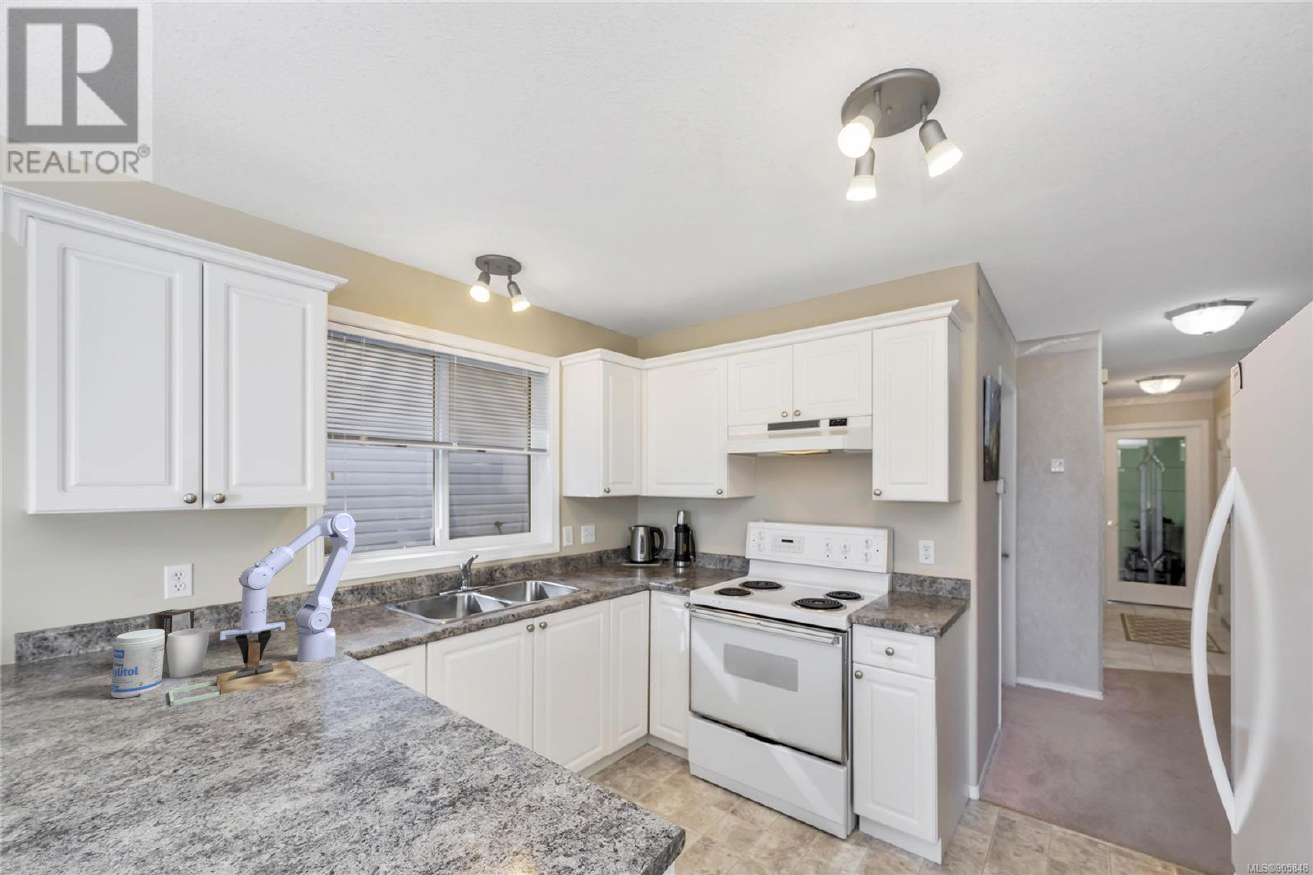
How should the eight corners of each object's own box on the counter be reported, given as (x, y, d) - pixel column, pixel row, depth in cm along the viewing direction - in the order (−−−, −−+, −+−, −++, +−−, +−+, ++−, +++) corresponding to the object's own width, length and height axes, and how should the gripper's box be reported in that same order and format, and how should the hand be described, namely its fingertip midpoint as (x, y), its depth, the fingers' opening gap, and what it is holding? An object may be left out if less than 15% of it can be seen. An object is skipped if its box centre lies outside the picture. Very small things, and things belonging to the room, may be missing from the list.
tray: (213, 687, 146) (214, 680, 146) (218, 699, 138) (219, 692, 138) (168, 697, 139) (168, 689, 140) (170, 710, 131) (170, 702, 132)
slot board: (288, 672, 156) (289, 660, 157) (296, 682, 149) (296, 668, 149) (216, 687, 145) (216, 674, 146) (220, 698, 138) (221, 684, 138)
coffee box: (193, 666, 163) (196, 610, 164) (169, 673, 157) (172, 615, 158) (169, 664, 165) (172, 608, 166) (145, 671, 159) (148, 613, 160)
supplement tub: (101, 701, 137) (105, 640, 138) (124, 688, 146) (128, 630, 147) (149, 696, 140) (152, 636, 141) (169, 683, 149) (172, 627, 150)
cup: (169, 684, 148) (171, 638, 149) (160, 678, 153) (162, 633, 154) (211, 675, 155) (213, 630, 156) (201, 668, 161) (203, 626, 162)
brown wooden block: (255, 672, 157) (257, 639, 157) (258, 676, 153) (260, 643, 154) (244, 674, 155) (246, 641, 155) (247, 679, 151) (248, 645, 152)
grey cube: (270, 676, 151) (271, 663, 151) (273, 679, 148) (273, 666, 149) (254, 679, 148) (255, 666, 149) (256, 683, 146) (257, 669, 146)
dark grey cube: (252, 680, 148) (253, 666, 148) (254, 683, 146) (255, 669, 146) (236, 683, 146) (236, 669, 146) (237, 687, 143) (238, 672, 143)
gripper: (223, 618, 147) (220, 671, 146) (288, 608, 157) (286, 658, 156) (219, 613, 152) (217, 665, 151) (283, 605, 162) (281, 653, 161)
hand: (252, 661), depth 154 cm, fingers closed on brown wooden block, 2 cm apart
